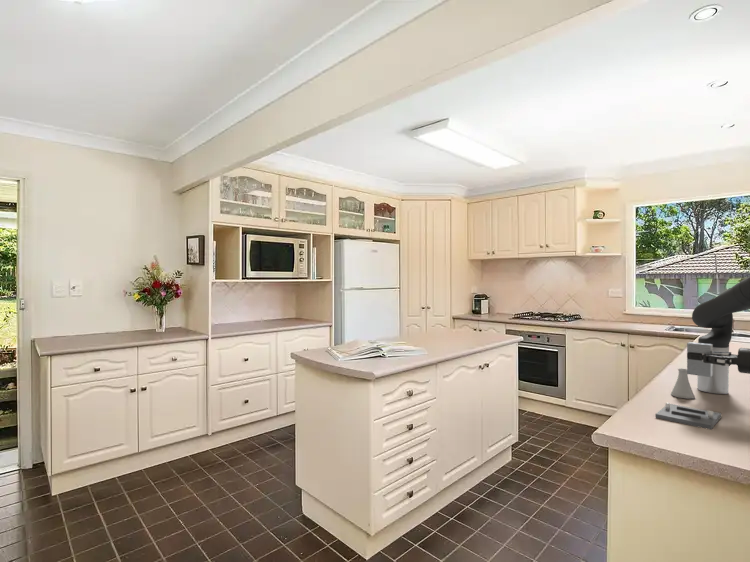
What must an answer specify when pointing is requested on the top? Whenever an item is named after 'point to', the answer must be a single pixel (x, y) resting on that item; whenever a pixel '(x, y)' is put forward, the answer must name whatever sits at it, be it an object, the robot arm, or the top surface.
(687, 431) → the top surface
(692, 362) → the drive
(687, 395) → the flask
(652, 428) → the top surface
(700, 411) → the gray docking base
